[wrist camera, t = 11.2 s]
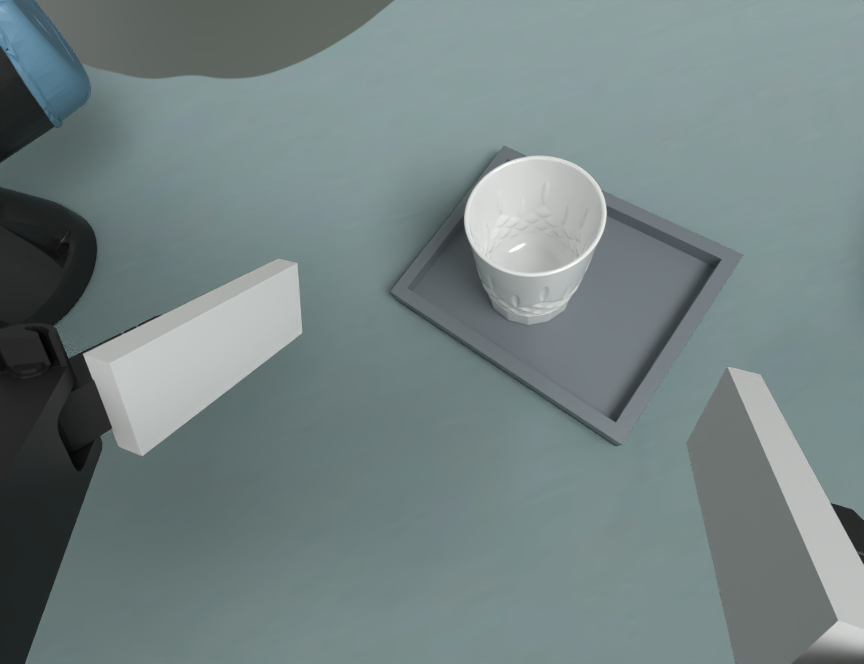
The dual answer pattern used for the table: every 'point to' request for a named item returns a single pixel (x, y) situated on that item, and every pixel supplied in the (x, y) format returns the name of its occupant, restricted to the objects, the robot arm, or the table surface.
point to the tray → (582, 312)
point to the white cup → (534, 234)
